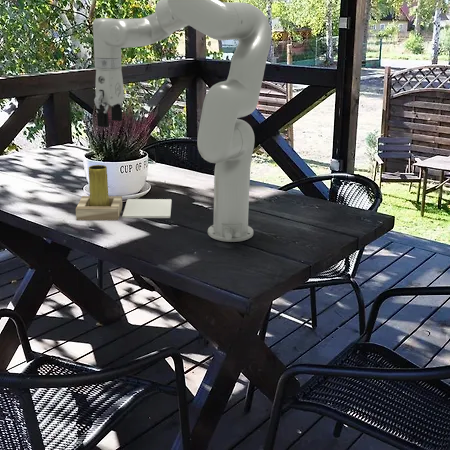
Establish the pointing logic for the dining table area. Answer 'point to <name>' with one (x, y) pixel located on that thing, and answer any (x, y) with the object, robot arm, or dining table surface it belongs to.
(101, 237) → the dining table surface
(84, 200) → the holder
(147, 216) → the board
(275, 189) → the dining table surface
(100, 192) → the vase
